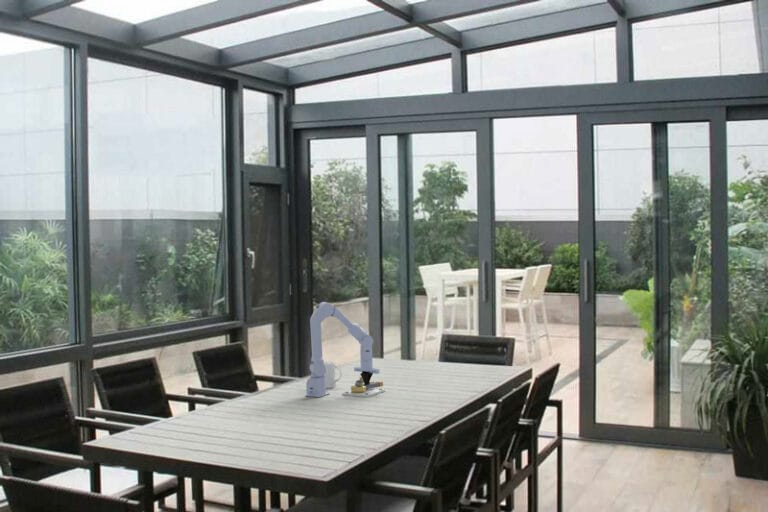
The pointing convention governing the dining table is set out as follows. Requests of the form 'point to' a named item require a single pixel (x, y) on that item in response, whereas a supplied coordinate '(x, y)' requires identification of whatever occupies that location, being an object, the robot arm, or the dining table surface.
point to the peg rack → (362, 381)
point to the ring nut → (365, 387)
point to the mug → (331, 374)
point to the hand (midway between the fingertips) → (367, 387)
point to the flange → (364, 394)
